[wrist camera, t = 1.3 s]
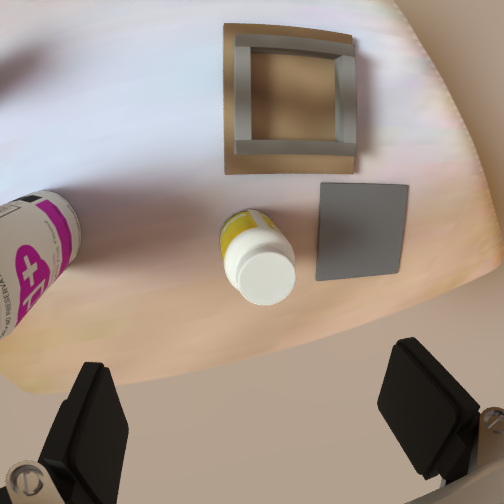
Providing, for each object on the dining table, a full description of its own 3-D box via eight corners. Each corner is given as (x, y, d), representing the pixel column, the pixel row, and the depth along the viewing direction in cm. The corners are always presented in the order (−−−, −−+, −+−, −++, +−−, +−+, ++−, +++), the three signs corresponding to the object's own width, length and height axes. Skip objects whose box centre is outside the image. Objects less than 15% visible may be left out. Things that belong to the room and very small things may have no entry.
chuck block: (223, 27, 23) (225, 15, 21) (347, 37, 25) (361, 29, 22) (224, 173, 28) (226, 177, 25) (349, 173, 30) (363, 176, 27)
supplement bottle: (214, 259, 31) (220, 310, 22) (224, 204, 29) (234, 234, 20) (269, 266, 32) (295, 317, 23) (281, 213, 30) (315, 246, 21)
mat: (320, 182, 30) (322, 183, 29) (405, 185, 31) (407, 185, 31) (315, 279, 33) (316, 281, 33) (395, 271, 34) (397, 273, 34)
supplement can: (94, 207, 27) (12, 268, 13) (72, 280, 29) (5, 371, 15) (28, 177, 25) (-75, 214, 11) (11, 249, 27) (-73, 318, 13)
